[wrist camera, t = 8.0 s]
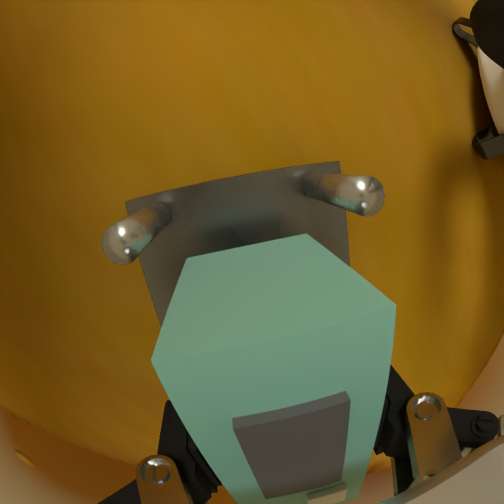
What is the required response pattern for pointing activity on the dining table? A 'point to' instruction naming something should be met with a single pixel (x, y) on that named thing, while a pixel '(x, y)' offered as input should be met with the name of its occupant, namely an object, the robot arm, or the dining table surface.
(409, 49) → the dining table surface
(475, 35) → the coffee press
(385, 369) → the teal block
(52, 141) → the dining table surface
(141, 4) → the dining table surface
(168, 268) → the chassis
